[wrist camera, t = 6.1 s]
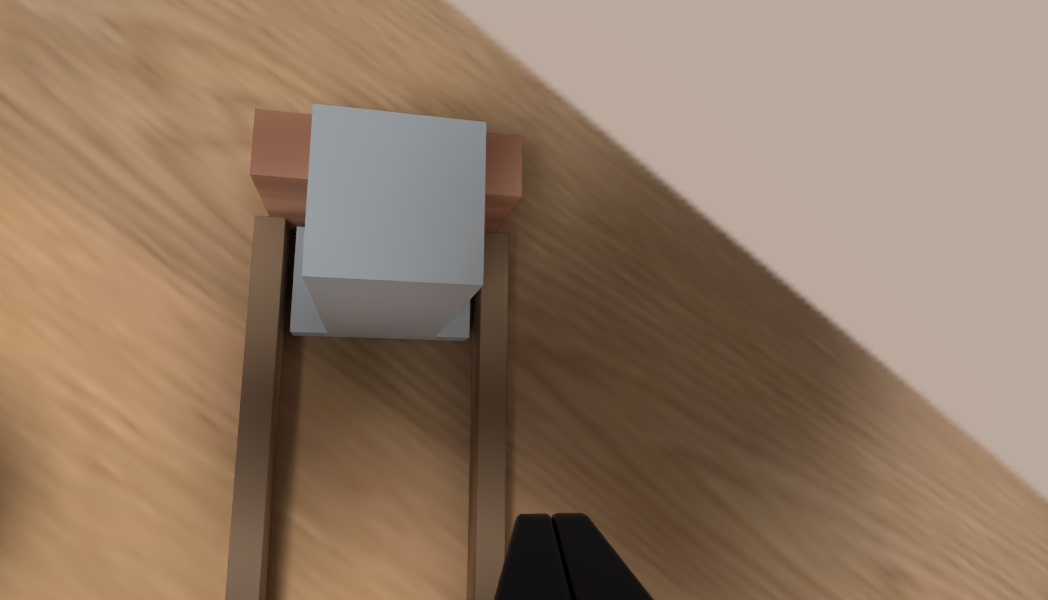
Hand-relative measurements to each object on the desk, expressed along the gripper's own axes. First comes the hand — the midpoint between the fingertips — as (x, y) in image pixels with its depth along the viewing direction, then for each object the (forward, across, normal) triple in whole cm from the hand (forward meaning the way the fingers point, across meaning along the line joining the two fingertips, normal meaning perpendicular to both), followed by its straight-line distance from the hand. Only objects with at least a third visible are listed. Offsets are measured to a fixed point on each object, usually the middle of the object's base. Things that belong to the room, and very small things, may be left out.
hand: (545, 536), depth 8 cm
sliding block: (+13, +3, +4) cm, 14 cm away
